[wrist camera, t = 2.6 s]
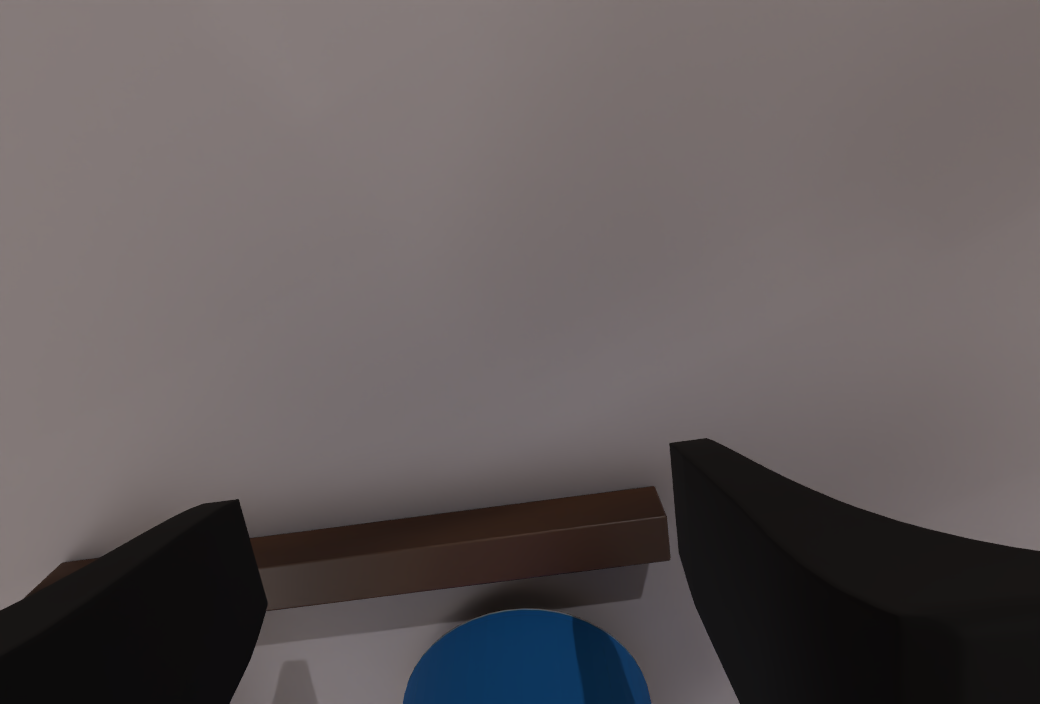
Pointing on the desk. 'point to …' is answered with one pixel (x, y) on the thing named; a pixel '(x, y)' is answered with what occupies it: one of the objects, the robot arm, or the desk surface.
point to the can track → (455, 549)
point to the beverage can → (527, 663)
